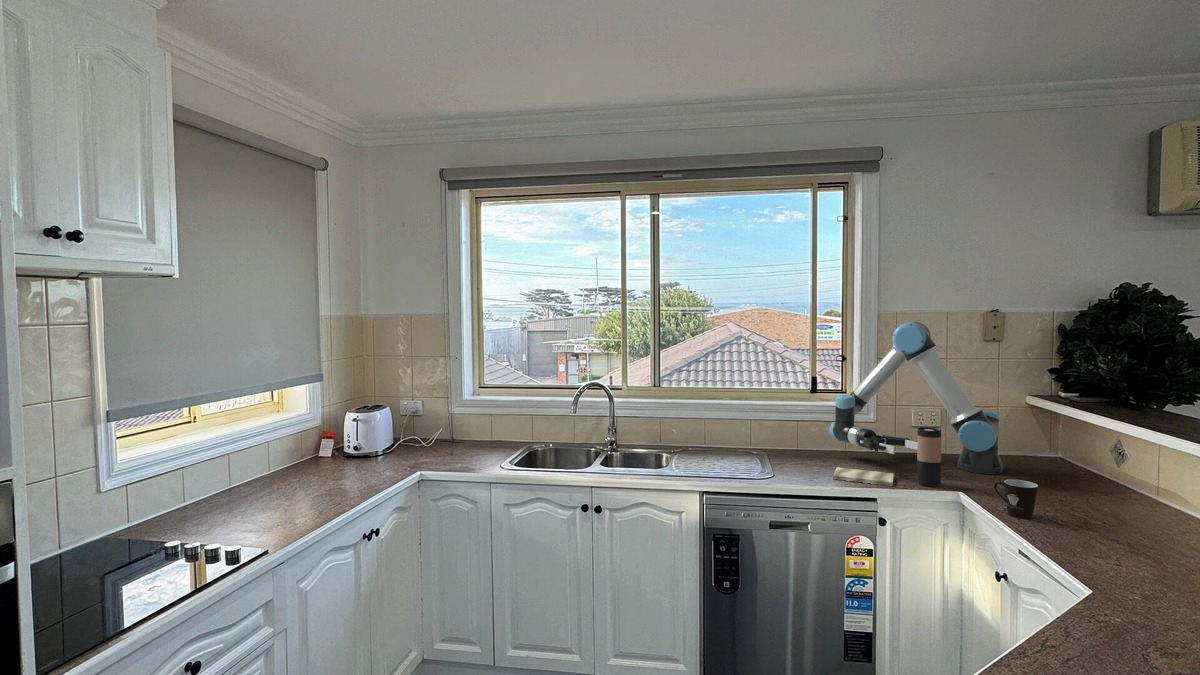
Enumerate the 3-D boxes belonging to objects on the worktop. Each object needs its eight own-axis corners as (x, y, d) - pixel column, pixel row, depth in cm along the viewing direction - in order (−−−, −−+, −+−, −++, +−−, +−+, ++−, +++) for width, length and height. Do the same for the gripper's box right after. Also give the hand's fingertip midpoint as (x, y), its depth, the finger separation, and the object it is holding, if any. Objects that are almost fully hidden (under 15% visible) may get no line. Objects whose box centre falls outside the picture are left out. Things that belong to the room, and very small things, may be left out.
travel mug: (914, 484, 221) (914, 429, 220) (920, 480, 226) (920, 426, 226) (937, 488, 216) (937, 431, 215) (944, 483, 221) (944, 428, 221)
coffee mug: (1043, 520, 184) (1045, 487, 183) (1014, 520, 184) (1015, 487, 183) (1018, 507, 195) (1019, 476, 195) (990, 507, 195) (991, 476, 195)
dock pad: (893, 477, 230) (893, 473, 230) (892, 486, 219) (892, 482, 219) (836, 471, 239) (836, 467, 239) (832, 479, 228) (833, 475, 228)
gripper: (885, 443, 253) (930, 455, 234) (838, 449, 244) (882, 461, 224) (885, 425, 253) (931, 435, 234) (839, 430, 243) (882, 441, 224)
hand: (907, 448), depth 229 cm, fingers open, 13 cm apart
